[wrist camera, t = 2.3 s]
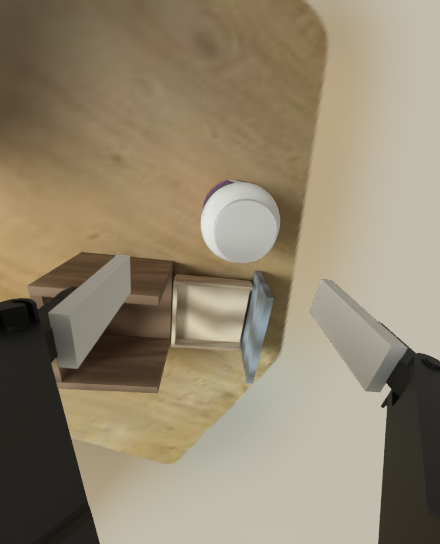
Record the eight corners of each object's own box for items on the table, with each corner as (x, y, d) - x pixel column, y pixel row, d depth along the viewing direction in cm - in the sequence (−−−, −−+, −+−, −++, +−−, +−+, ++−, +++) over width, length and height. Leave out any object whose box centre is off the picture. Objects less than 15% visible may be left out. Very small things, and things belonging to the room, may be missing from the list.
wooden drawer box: (81, 252, 34) (27, 285, 24) (173, 261, 35) (158, 296, 25) (93, 334, 40) (54, 388, 30) (170, 339, 41) (157, 393, 31)
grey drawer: (177, 263, 35) (167, 288, 27) (268, 272, 36) (283, 299, 28) (173, 340, 41) (165, 378, 34) (251, 345, 42) (260, 383, 35)
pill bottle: (205, 238, 34) (202, 279, 21) (200, 181, 30) (192, 187, 17) (258, 234, 34) (288, 273, 21) (259, 177, 30) (295, 180, 17)
